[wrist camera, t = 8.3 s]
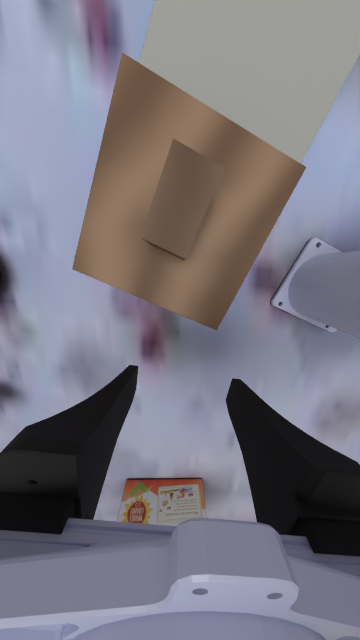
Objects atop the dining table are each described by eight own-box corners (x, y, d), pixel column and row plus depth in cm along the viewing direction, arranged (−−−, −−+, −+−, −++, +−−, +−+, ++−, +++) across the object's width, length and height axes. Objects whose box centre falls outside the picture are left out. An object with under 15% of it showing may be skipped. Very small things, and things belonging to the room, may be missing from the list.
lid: (298, 172, 13) (364, 122, 8) (214, 327, 17) (228, 350, 12) (126, 67, 11) (88, -74, 6) (77, 268, 15) (33, 270, 10)
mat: (398, -23, 12) (407, -35, 12) (276, 205, 17) (279, 203, 16) (208, -193, 10) (209, -214, 10) (127, 120, 15) (125, 115, 14)
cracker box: (129, 497, 32) (48, 873, 12) (126, 477, 30) (25, 883, 10) (201, 497, 32) (237, 869, 12) (202, 477, 30) (248, 878, 10)
